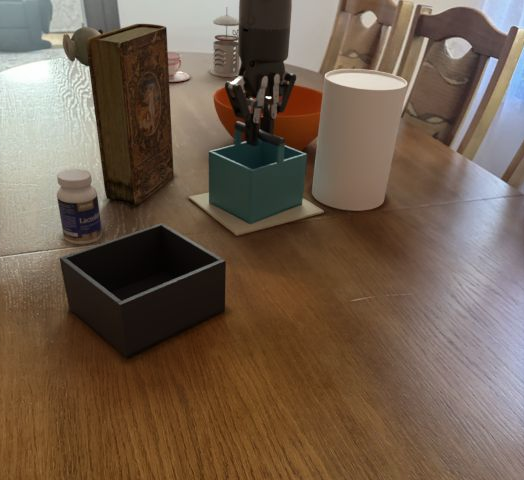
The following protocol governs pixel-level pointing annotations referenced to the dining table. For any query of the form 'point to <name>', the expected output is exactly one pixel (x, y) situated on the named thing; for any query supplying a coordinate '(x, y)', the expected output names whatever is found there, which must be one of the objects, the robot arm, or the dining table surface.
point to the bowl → (281, 116)
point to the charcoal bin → (144, 287)
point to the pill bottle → (78, 207)
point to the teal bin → (256, 177)
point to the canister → (357, 137)
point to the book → (132, 109)
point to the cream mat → (243, 227)
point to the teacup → (175, 68)
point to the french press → (226, 49)
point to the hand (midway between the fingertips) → (258, 142)
